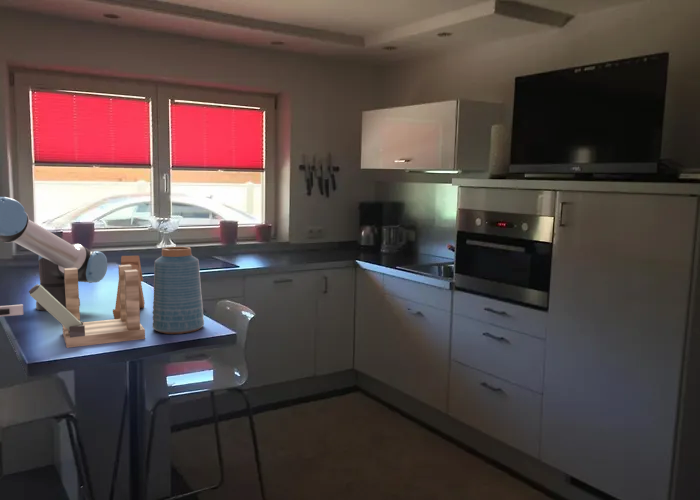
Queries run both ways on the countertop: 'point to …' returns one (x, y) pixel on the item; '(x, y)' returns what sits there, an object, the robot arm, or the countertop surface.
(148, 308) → the countertop surface
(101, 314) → the countertop surface
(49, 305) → the stool leg
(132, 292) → the wooden rack
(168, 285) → the vase
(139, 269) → the tan wooden piece
